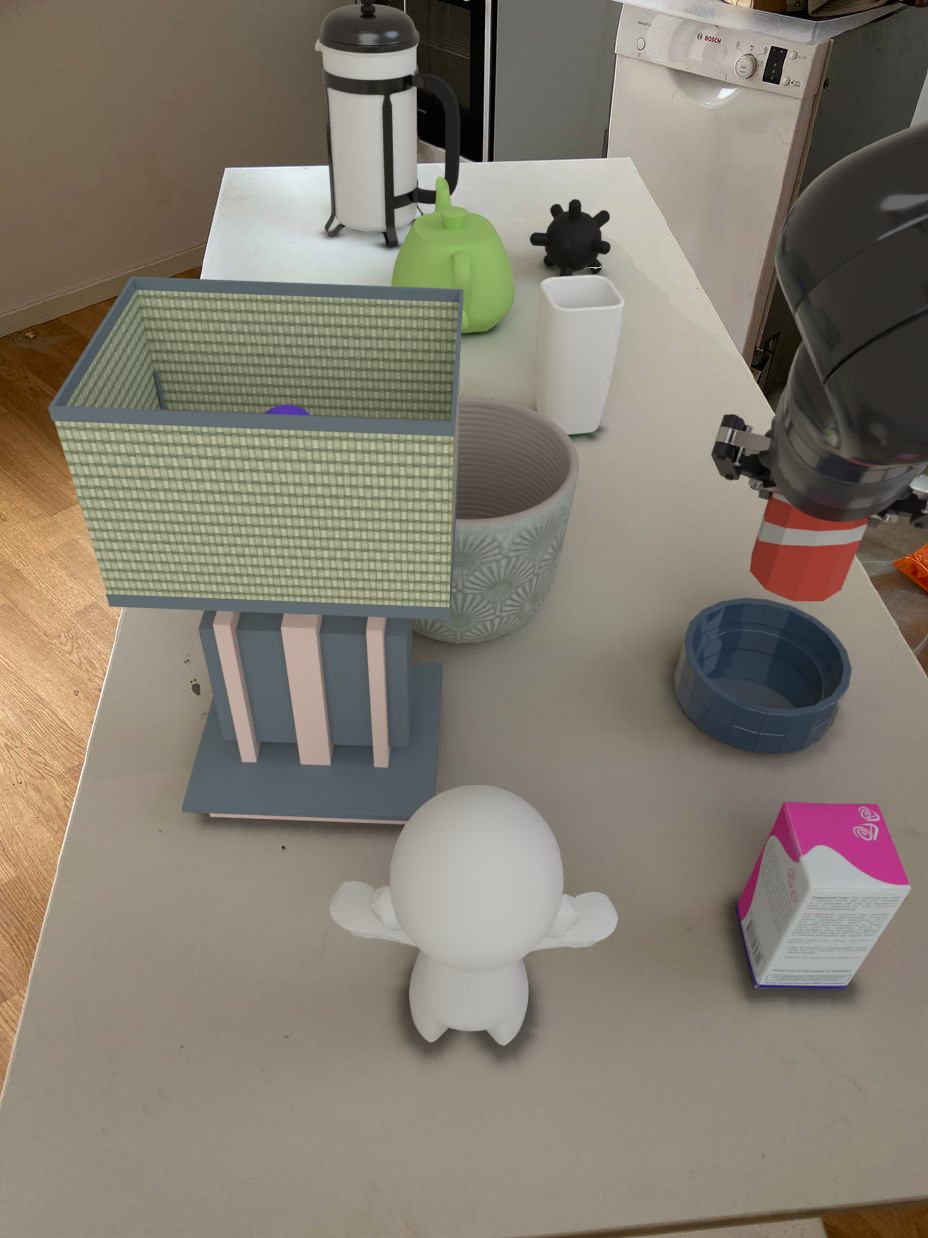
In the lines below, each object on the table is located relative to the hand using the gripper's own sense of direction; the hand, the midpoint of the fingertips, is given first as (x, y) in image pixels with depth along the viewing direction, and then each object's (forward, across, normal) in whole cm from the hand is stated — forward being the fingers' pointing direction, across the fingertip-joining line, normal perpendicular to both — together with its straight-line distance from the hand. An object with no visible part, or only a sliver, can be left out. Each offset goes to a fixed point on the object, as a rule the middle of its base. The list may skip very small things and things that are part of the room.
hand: (820, 497), depth 64 cm
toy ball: (+59, +38, -33) cm, 78 cm away
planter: (+13, +25, +14) cm, 31 cm away
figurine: (-10, +10, +37) cm, 40 cm away
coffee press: (+61, +67, -34) cm, 97 cm away
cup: (+34, +26, -8) cm, 44 cm away
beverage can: (+3, 0, +5) cm, 6 cm away
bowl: (+12, 0, +14) cm, 19 cm away
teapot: (+47, +48, -21) cm, 70 cm away
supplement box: (-2, -6, +28) cm, 29 cm away
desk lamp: (-1, +28, +27) cm, 39 cm away
